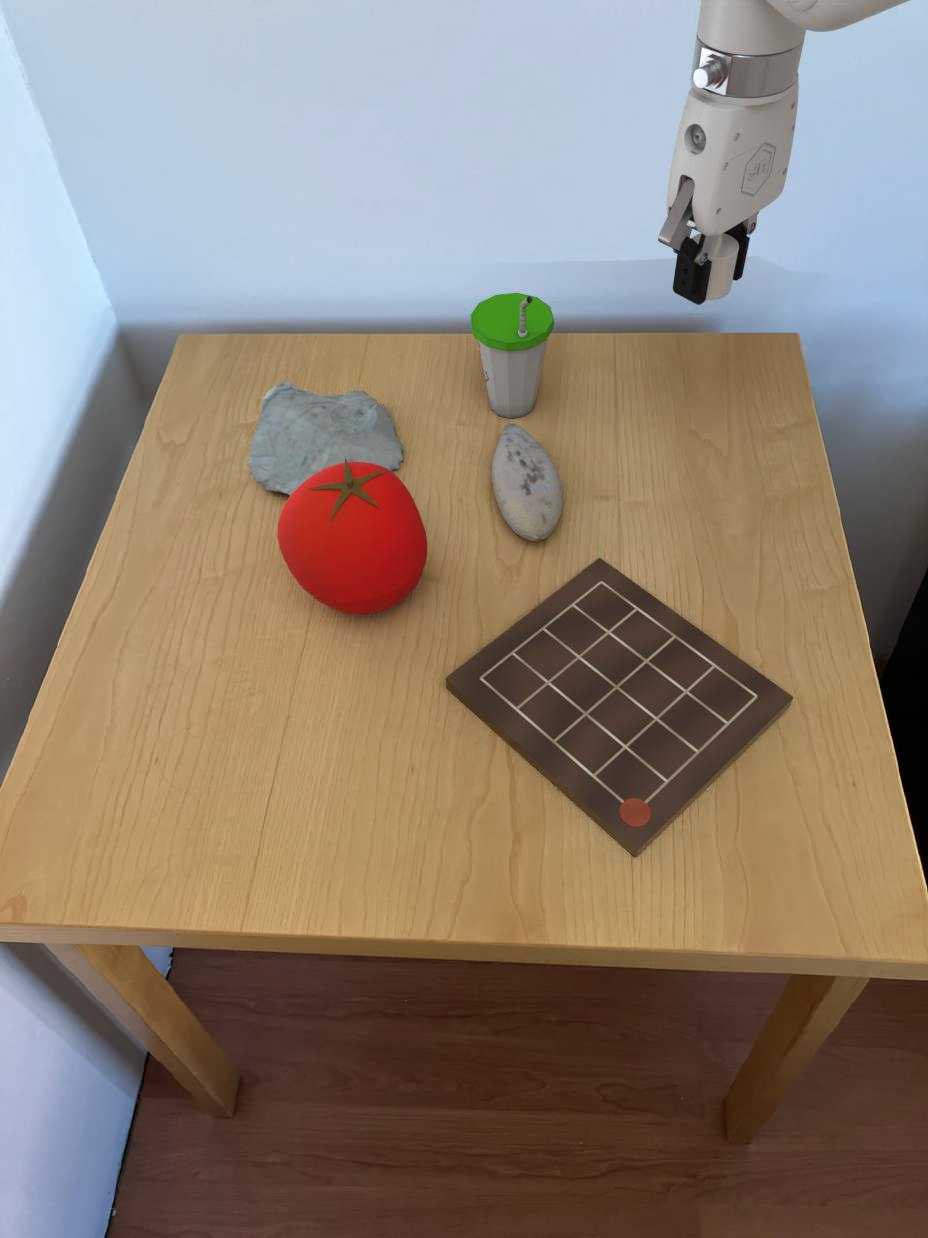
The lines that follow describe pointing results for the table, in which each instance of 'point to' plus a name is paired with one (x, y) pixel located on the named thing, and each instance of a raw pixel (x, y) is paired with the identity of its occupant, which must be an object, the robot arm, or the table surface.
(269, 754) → the table surface
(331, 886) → the table surface
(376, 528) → the tomato
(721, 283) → the white canister
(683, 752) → the board
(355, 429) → the stone
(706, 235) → the robot arm
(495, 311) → the cup
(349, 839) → the table surface
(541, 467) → the decorative stone
